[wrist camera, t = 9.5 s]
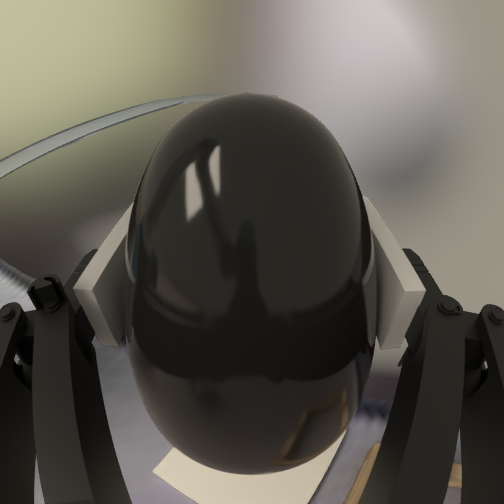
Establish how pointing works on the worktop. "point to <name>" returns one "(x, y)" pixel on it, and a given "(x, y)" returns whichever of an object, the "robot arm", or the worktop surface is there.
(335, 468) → the worktop surface
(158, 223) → the black egg-shaped piece
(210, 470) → the tile
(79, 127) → the worktop surface
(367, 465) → the wooden picture frame
